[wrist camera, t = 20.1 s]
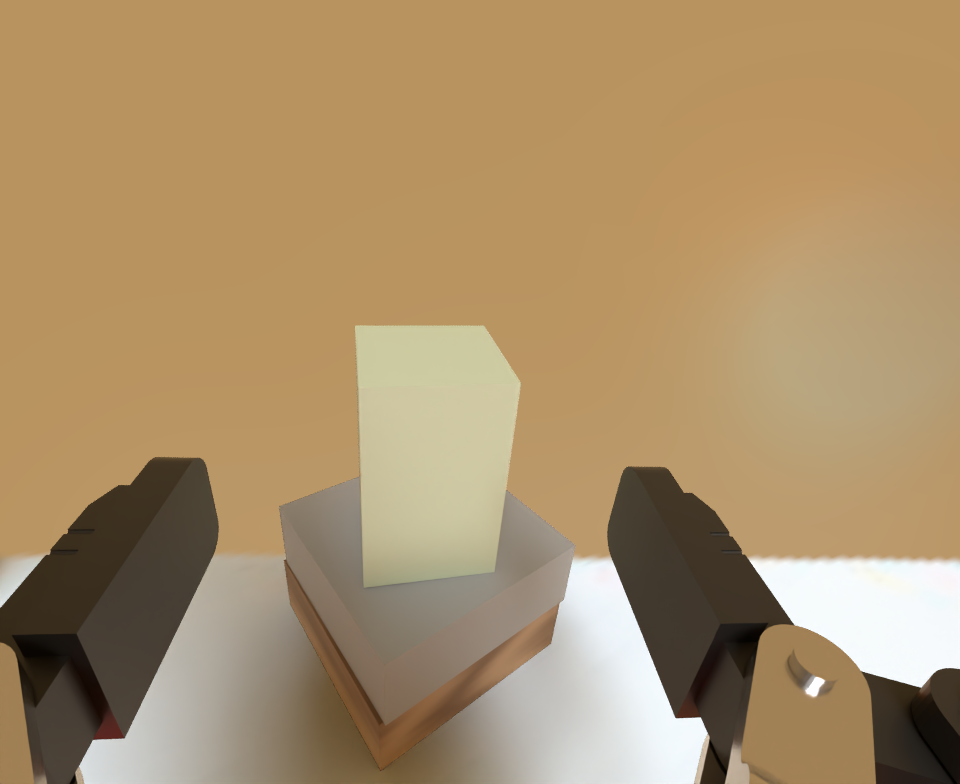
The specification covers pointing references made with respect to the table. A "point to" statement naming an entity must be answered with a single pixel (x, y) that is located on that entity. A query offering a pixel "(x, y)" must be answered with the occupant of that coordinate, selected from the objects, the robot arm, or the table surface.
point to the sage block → (432, 450)
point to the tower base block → (437, 705)
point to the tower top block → (419, 597)
